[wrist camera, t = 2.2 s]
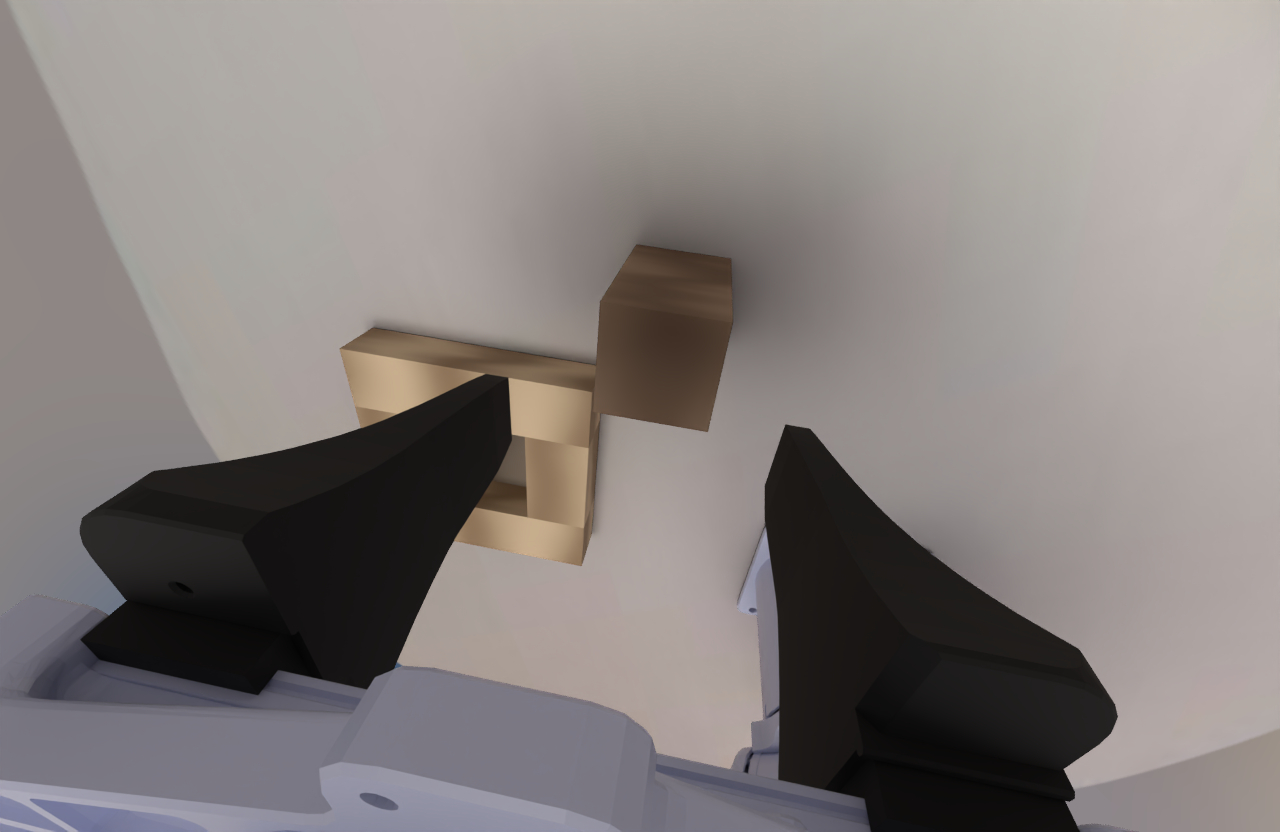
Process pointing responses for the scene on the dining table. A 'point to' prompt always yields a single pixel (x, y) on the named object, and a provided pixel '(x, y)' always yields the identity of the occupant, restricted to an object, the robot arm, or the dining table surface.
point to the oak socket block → (540, 422)
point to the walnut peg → (664, 337)
